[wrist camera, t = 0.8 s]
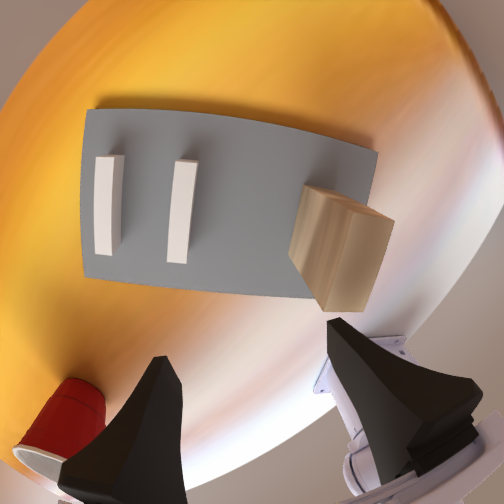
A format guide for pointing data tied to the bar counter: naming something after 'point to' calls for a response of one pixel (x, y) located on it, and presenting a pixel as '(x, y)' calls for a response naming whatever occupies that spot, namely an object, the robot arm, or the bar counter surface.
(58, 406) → the plastic cup
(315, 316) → the bar counter surface
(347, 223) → the wooden block
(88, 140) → the clip board
